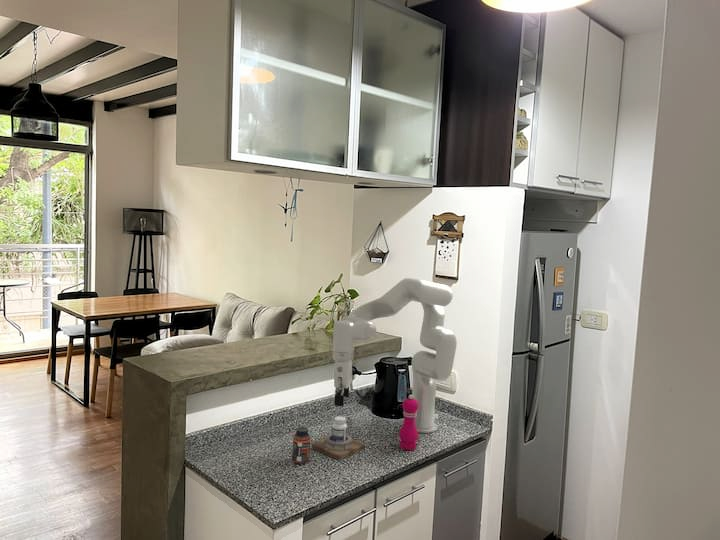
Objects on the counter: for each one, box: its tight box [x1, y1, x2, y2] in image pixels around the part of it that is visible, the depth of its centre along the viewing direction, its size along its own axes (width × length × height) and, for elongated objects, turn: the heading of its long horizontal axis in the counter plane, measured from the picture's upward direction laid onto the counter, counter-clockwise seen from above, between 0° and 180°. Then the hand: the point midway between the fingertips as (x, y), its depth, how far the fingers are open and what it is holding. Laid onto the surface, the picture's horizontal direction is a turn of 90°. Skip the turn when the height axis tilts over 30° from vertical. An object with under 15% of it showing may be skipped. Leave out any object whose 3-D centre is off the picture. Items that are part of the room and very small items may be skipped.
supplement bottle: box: [291, 426, 311, 465], centre depth 182 cm, size 6×6×11 cm
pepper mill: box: [398, 394, 419, 451], centre depth 198 cm, size 7×7×20 cm
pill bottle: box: [331, 415, 348, 442], centre depth 194 cm, size 5×5×10 cm
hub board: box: [310, 432, 366, 461], centre depth 194 cm, size 14×14×4 cm
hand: (341, 400), depth 193 cm, fingers open, 9 cm apart
